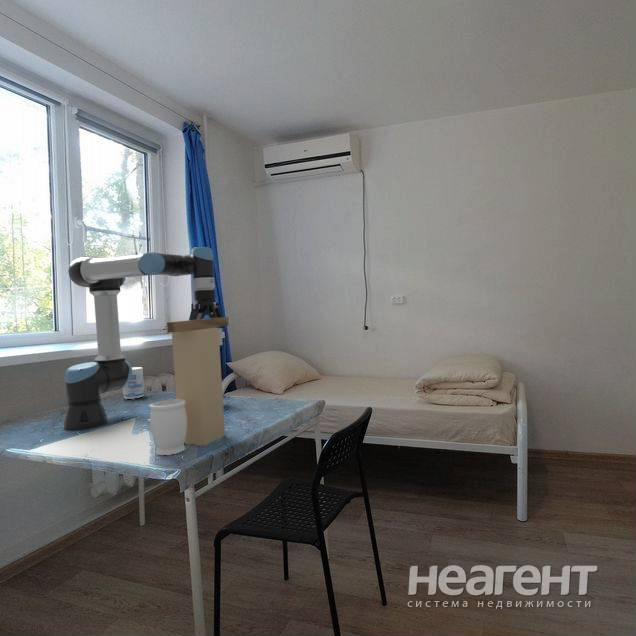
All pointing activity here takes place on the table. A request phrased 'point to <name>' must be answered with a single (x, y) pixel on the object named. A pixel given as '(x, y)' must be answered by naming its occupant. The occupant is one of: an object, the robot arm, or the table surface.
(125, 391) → the supplement tub
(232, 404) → the table surface
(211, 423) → the carton
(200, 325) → the brown rectangular bar
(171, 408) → the jar
